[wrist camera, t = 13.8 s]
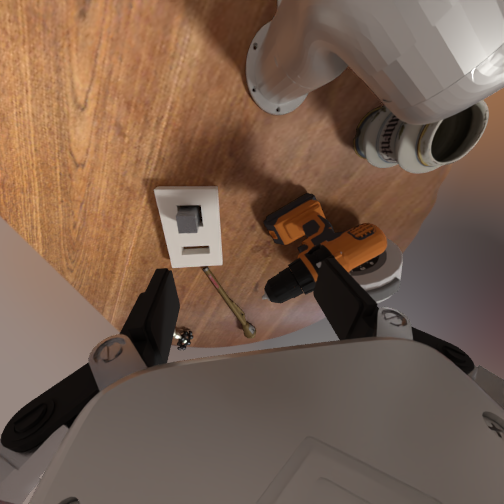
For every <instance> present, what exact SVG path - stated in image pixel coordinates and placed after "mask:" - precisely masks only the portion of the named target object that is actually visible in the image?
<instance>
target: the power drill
mask: <svg viewBox="0 0 504 504" xmlns="http://www.w3.org/2000/svg"><path fill="white" fill-rule="evenodd" d="M264 225H265V227H266V228H267V230H268V232H269V233H270V235H271V237H272V238H273V240H274V242H275V243H278V244H283V245H287V244H289V243H291V242H293V241H295V240H297V239H298V238H300V237H302V236H304V235H306V237H307V239H306V240H304V241H303V242H302V246H300V247H298V250H299V252H300V254H299V255H298V257H297V258H298V259H297V260H295V261H294V262H292V263H290V264H289V265H288V266H289V267H288V268H286V269H284V270H283V271H281V272H279V274H277V275H276V276H274V277H272V278H271V279H269V280H268V281H267V284H266V286H265V288H264V289H265V294H264V295H263V296H262V299H268V300H270V301H271V302H275V303H283V302H285V301H287V300H289V299H291V298H295V297H297V296H299V295H301V294H302V293H303V292H304V293H305V294H308V293H310V292H312V291H314V288H315V284H316V281H317V277H318V273H319V269H320V266H321V262H322V261H324V259H328V258H335V259H336V260H337V261H338V262H339V263H340V264H341V265H342V266H343V268H344V269H345V270H346V271H347V272H348V273H349V272H350V271H351V270H352V269H353V268H355V267H357V266H359V265H361V264H363V263H365V262H366V261H368V260H370V259H372V258H374V257H376V256H378V255H380V254H381V253H383V252H384V251H385V249H386V247H387V239H386V236H385V235H384V233H383V232H382V230H380V229H379V228H378V227H377V226H376V225H373V224H370V223H363V224H360V225H359V226H357V227H353V228H350V229H348V230H346V231H343V232H340V233H335V232H334V230H333V227H332V225H331V224H330V222H329V221H328V220H327V219H326V218H325V216H324V213H323V211H322V208H321V205H320V203H319V202H318V201H316V198H315V196H314V195H313V194H309V193H306V194H304V195H303V196H301V197H299V198H297V199H296V200H294V201H292V202H291V203H289V204H287V205H286V206H284V207H282V208H280V209H279V210H277V211H275V212H274V213H272V214H270V215H268V216H267V217H266V220H265V221H264ZM289 268H290V269H289ZM291 271H292V272H291ZM349 274H350V273H349ZM301 288H302V289H301ZM302 290H303V291H302Z"/></svg>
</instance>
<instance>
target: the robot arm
mask: <svg viewBox="0 0 504 504" xmlns="http://www.w3.org/2000/svg"><path fill="white" fill-rule="evenodd" d="M253 47H256V50H254V49H253ZM348 66H349V67H350V68H351V69H352V70H353V71H354V73H355V74H356V75H357V76H358V77H360V78H361V79H362V80H363V81H364V82H365V83H366V84H367V86H368V87H369V88H370V89H371V90H372V91H373V92H374V94H375V95H376V96H377V97H378V98H379V99H380V100H381V101H382V103H383V104H384V105H385V106H386V107H387V108H388V109H389V110H390V111H391V112H392V113H393V114H394V115H395V116H396V117H397V118H398V119H400V120H401V121H403V122H406V123H408V124H412V125H424V124H429V123H434V122H437V121H440V120H443V119H445V118H448V117H450V116H453V115H455V114H457V113H459V112H461V111H463V110H465V109H467V108H469V107H471V106H472V105H474V104H476V103H478V102H480V101H481V100H483V99H485V98H487V97H488V96H490V95H492V94H493V93H495V92H497V91H498V90H500V89H501V88H503V87H504V0H277V12H276V14H275V16H274V17H273V19H272V21H270V22H268V23H267V24H265V25H264V26H263V27H262V28H261V29H260V30H259V31H258V32H257V34H256V35H255V37H254V39H253V40H252V43H251V45H250V48H249V51H248V54H247V60H246V81H247V86H248V89H249V92H250V94H251V96H252V98H253V100H254V101H255V103H256V104H257V105H258V106H259V107H260V108H261V109H262V110H263V111H265V112H267V113H269V114H272V115H284V114H287V113H289V112H291V111H293V110H295V109H296V108H297V107H298V106H299V105H300V104H301V103H302V102H303V101H304V100H305V98H306V96H307V95H308V93H309V92H311V91H313V90H315V89H317V88H319V87H321V86H323V85H325V84H327V83H329V82H330V81H332V80H334V79H335V78H336V77H338V76H339V75H340V74H341V73H342V72H343V71H344V70H345V69H346V68H347V67H348ZM252 89H255V92H253V91H252ZM276 109H278V112H277V111H276ZM314 297H315V299H316V301H317V302H318V304H319V306H320V307H321V309H322V311H323V312H324V314H325V316H326V317H327V319H328V321H329V322H330V324H331V326H332V328H333V329H334V331H335V333H336V334H337V336H338V338H339V339H340V340H338V341H330V342H321V343H314V344H305V345H297V346H289V347H281V348H273V349H265V350H257V351H249V352H241V353H234V354H226V355H219V356H211V357H204V358H197V359H190V360H184V361H177V362H172V363H167V360H168V356H169V352H170V347H171V343H172V339H173V335H174V330H175V326H176V322H177V318H178V313H179V309H180V303H179V299H178V295H177V291H176V286H175V282H174V278H173V274H172V271H171V270H170V271H169V270H168V269H167V268H162V269H156V271H155V273H154V275H153V277H152V279H151V281H150V283H149V285H148V287H147V289H146V291H145V292H144V293H141V294H140V295H139V297H138V299H137V301H136V303H135V305H134V307H133V309H132V311H131V313H130V315H129V316H128V318H127V320H126V322H125V324H124V326H123V328H122V330H121V332H120V334H118V335H113V336H110V337H108V338H106V339H104V340H103V341H101V342H100V343H98V344H97V346H95V347H94V348H93V350H92V352H91V353H90V355H89V358H88V359H89V362H88V363H87V364H86V365H84V366H83V367H81V368H80V369H78V370H77V371H75V372H74V373H73V374H71V375H69V376H68V377H66V378H65V379H63V380H62V381H60V382H59V383H57V384H56V385H54V386H53V387H52V388H50V389H49V390H47V391H46V392H44V393H43V394H41V395H40V396H38V397H37V398H35V399H34V400H32V401H31V402H29V403H28V404H27V405H25V406H24V407H23V408H21V409H20V410H19V411H18V412H17V413H16V414H15V415H14V416H13V417H12V419H11V420H10V421H9V422H8V424H7V425H6V426H5V429H4V431H3V433H2V435H1V439H0V504H22V503H23V502H24V500H25V499H26V497H27V496H28V495H29V493H30V492H31V491H32V490H33V488H34V487H35V486H36V485H37V484H38V483H39V484H38V486H37V488H36V490H35V492H34V494H33V496H32V498H31V500H30V502H29V503H28V504H504V380H503V379H502V378H500V377H498V376H496V375H495V374H493V373H491V372H490V371H488V370H487V369H485V368H483V367H482V366H480V365H479V366H478V367H476V366H474V363H473V361H472V360H471V358H470V357H469V356H468V355H467V354H466V353H465V352H463V351H462V350H461V349H459V348H458V347H456V346H454V345H452V344H451V343H448V342H446V341H443V340H441V339H439V338H436V337H434V336H432V335H430V334H427V333H425V332H423V331H420V330H418V329H416V328H413V327H411V323H410V321H409V319H408V318H407V317H406V316H405V315H404V314H403V313H401V312H400V311H398V310H395V309H393V308H390V307H381V308H380V309H379V308H378V307H377V303H376V301H375V300H374V299H373V298H372V297H371V296H370V295H369V294H368V293H367V292H366V291H365V290H364V289H363V288H362V287H361V286H360V285H359V283H358V282H357V281H356V280H355V279H354V278H353V277H352V276H351V275H350V274H349V273H348V272H347V271H346V270H345V269H344V268H343V266H342V265H341V264H340V263H339V262H338V261H337V260H336V259H335V258H328V259H324V261H322V262H321V266H320V269H319V273H318V277H317V281H316V284H315V288H314ZM45 470H46V471H45ZM44 471H45V473H44V474H43V476H42V478H41V479H40V478H39V477H40V475H41V474H42V473H43V472H44ZM39 481H40V482H39ZM78 500H79V501H78Z"/></svg>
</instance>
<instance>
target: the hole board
mask: <svg viewBox="0 0 504 504" xmlns="http://www.w3.org/2000/svg"><path fill="white" fill-rule="evenodd" d="M154 193H155V197H156V201H157V205H158V210H159V214H160V218H161V222H162V226H163V231H164V235H165V239H166V243H167V247H168V252H169V256H170V260H171V264H172V268H179V267H196V266H213V265H222V245H221V230H220V215H219V199H218V186H158V187H156V188H155V189H154ZM180 205H201V211H202V220H203V222H200V224H199V228H198V233H180V234H179V232H178V227H177V221H176V215H177V213H178V211H179V209H180ZM188 246H209V248H196V249H184V247H188Z"/></svg>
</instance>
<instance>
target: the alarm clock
mask: <svg viewBox="0 0 504 504" xmlns="http://www.w3.org/2000/svg"><path fill="white" fill-rule="evenodd" d="M386 239H387V238H386ZM402 262H403V260H402V252H401V251H400V249H399V247H398V246H397V245H396V244H395V243H393V242H392V241H391V240H389V239H387V247H386V249H385V251H384V252H383V253H381V254H380V255H378V256H376V257H374V258H372V259H370V260H368V261H366V262H365V263H363V264H361V265H359V266H357V267H355V268H353V269H352V270H351V271H350V272H349V273H350V275H351V276H352V277H353V278H354V279H355V280H356V281H357V282H358V283H359V285H360V286H361V287H362V288H363V289H364V290H365V291H366V292H367V293H368V294H369V295H370V296H371V297H372V298H373V299H374V300H375V301H376V303H379V302H382V301H383V300H386V299H387V298H389V297H391V296H392V295H393V294H395V293H396V292H397V291H398V290H399V288H400V278H401V270H402Z"/></svg>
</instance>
